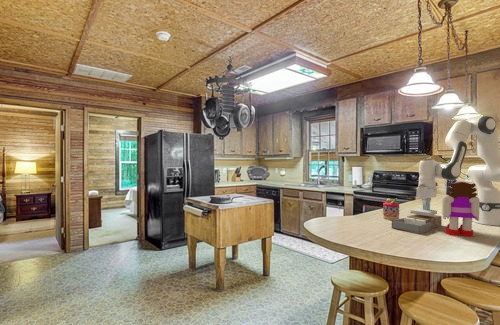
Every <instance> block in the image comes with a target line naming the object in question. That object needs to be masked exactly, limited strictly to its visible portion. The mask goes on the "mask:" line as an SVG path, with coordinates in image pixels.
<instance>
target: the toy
mask: <svg viewBox="0 0 500 325" xmlns="http://www.w3.org/2000/svg"><path fill="white" fill-rule="evenodd" d="M446 189H447V192H446V194H447V195H443V197H441V198H442V200H441V202H442V203H441V204H442V205H441V207H442V208H441V214H442V215H441V216H442V219H443V220H447V219H448V220H449V223H448V224H446V226H445V234H447V235H448V236H449V235H450V236H455V237H457V236H458V237H459V236H463V237H471V238H472V237H474V230H473V226H472V225H473V221H472V219H475V220H477V221H479V218H480V217H479V201H480V200H479V198H478V192H477V191H478V190H477V186H476V184H475V183H474V182H473V183H469V182H466V181H456V182H452V183H451V182H448V187H447V188H446ZM476 192H477V193H476ZM459 218H462V224H460V225H459Z"/></svg>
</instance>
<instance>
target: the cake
mask: <svg viewBox="0 0 500 325" xmlns="http://www.w3.org/2000/svg"><path fill="white" fill-rule="evenodd" d="M396 201H398V198H397V197H396V198H394V199H393V200H392V199H391V198H387V199H386V202H383V203H382V204H383V207H382V210H383V211H382V215H383V216H382V217H383V219H384V220H388V221H392V220H397V219H400V204H399V203H398V202H396Z"/></svg>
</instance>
